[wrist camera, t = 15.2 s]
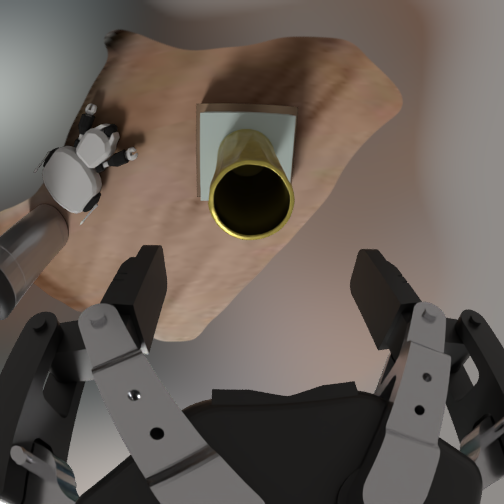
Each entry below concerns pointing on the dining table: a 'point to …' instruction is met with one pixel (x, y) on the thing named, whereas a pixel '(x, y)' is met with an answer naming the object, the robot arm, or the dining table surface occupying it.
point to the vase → (249, 187)
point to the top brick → (227, 122)
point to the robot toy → (83, 165)
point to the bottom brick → (238, 108)
